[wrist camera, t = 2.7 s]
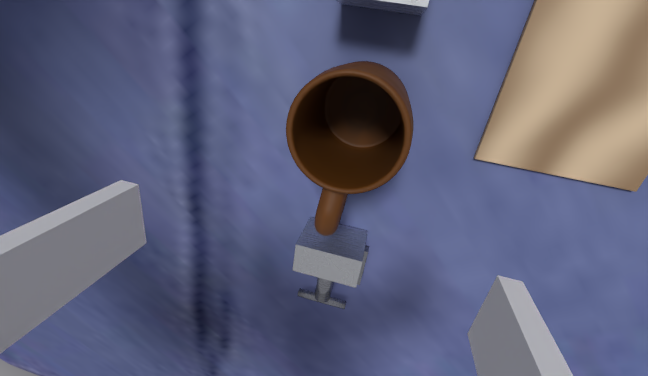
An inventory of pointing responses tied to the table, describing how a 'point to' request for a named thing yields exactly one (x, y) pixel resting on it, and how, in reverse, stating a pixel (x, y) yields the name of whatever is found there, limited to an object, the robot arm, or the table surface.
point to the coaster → (576, 94)
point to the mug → (349, 134)
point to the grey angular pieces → (347, 242)
